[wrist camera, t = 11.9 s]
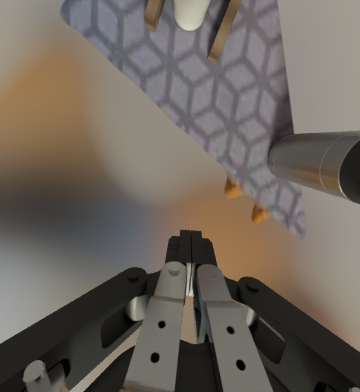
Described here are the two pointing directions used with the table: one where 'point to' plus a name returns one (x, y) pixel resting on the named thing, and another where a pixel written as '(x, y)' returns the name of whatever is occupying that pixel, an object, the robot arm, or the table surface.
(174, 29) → the table surface
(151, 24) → the walnut dock
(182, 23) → the white cup
